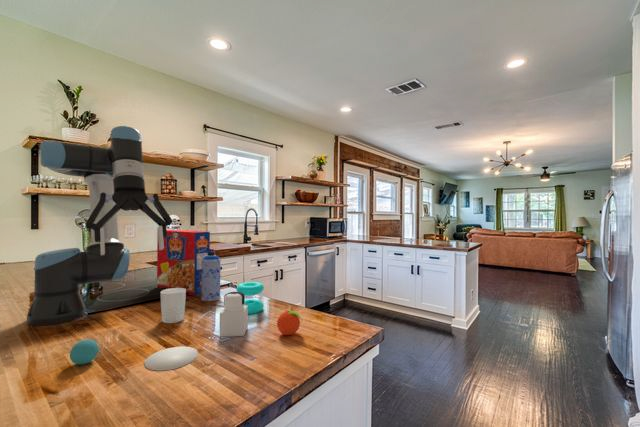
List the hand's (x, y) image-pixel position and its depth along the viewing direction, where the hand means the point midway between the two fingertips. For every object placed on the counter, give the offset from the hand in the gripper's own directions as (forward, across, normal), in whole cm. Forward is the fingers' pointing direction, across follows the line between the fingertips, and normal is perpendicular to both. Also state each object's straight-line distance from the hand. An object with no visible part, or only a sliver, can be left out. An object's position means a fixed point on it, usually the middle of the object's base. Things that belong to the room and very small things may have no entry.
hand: (133, 251), depth 80 cm
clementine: (+32, +37, -10) cm, 50 cm away
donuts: (+24, +38, +16) cm, 47 cm away
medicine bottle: (+28, +25, +1) cm, 37 cm away
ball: (+23, -11, +4) cm, 26 cm away
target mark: (+29, +6, -5) cm, 30 cm away
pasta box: (+9, +26, +62) cm, 68 cm away
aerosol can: (+16, +32, +40) cm, 53 cm away
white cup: (+21, +13, +23) cm, 33 cm away
